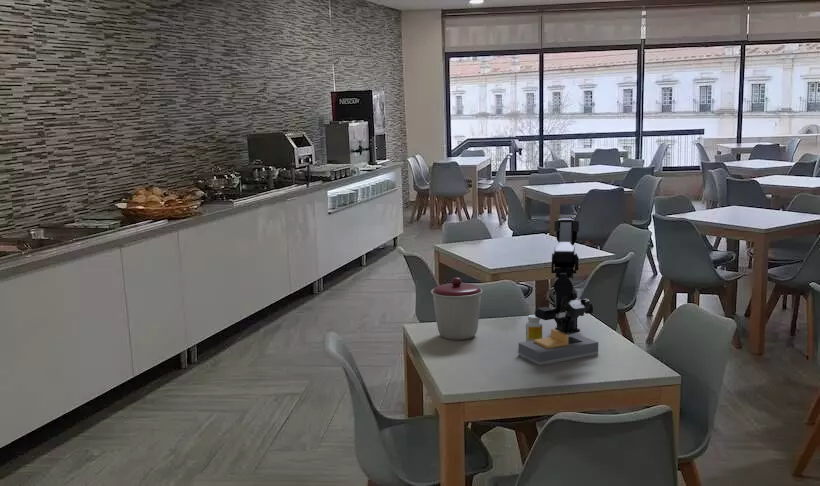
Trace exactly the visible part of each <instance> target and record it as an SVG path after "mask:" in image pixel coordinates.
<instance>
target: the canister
mask: <svg viewBox="0 0 820 486" xmlns="http://www.w3.org/2000/svg"><path fill="white" fill-rule="evenodd" d="M462 281H463V280H462V279H461V277H453V278H452V279H451V282H450V283H444V284H443V283H442V284H440V285H437V286H435V287H434V288H432V289H431V290H430V293H431V295H432V298H433V299H432V300H433V305H434V307H433V308H434V314H435V320H436V327H437V331H438V333H439V335H440V336H441V337H442V338H444V339H447V340H455V341H460V340H469V339H471V338H473V337H475V336H476V334H477V332H478V328H479V327H478V326H479V320H480V312H481V311H480V310H481V301H482V300H481V299H482V297H481V296H482V294H483V292H484V290H483V289H482V288H481V287H479V286H478V285H477V284H473V283H468V282H467V283H466V282H462Z"/></svg>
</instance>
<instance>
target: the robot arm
mask: <svg viewBox="0 0 820 486" xmlns="http://www.w3.org/2000/svg"><path fill="white" fill-rule="evenodd" d="M553 225H554V226H553V232H554V234H556V241H557V242H558V244H557V245H556V246H554V249H553V250H554V251H553V252H552V254H551V270H550V271H551V274H555V275H554V282H553V291H552V295H554V296H555V297H554V303H552V307H553V308H551V307H548V306H543V307H542V306H541V307H537V308H536V309H535V311H534V315H535V317H538V318H540V320H543V321H549V320H550V321H551V320H554V322H555V323H556V326H555V328H554V329H556V330H558V331H561V332H563V333H566V334H570V333H576V332H580V331H581V328H578V318H579V317H580V316H581V317H584V316H585V315H588V314H593V313H594V310H595V309H594V306H593V304H592V303H591V302H590V300H589V299H588V298H583V299H580V297H578V291H577V289H576V287H575V286H574V285H575V282H574V281H575V279H574V277H575V274H577V271H579V264H580V263H579V262H580V261H579V259H580V258H579V256H578V254H577V253H576V251H575V248H576V247H575V246H574V245H575V244H576V242H577V240H578V234H579V235H580V221H578V220H575V219H573V218H559V219H558V220H555V221H554V223H553Z"/></svg>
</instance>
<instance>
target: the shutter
mask: <svg viewBox="0 0 820 486" xmlns="http://www.w3.org/2000/svg"><path fill="white" fill-rule="evenodd" d="M568 334H569V333H568ZM568 334H566V333H563V332H561V331H559V330H556V329H555V328H551V329H550V336H549V337H544V338H543V337H542V339H536V340H534V343H536V344H539V345H541V346H543V347H545V348H553V347H559V346H565V345H568Z"/></svg>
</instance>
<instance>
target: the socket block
mask: <svg viewBox="0 0 820 486" xmlns="http://www.w3.org/2000/svg"><path fill="white" fill-rule="evenodd" d="M596 355H599V342H598V341H596V340H594V339H592V338H589V337H586V336H583V335H581V334H578V333H576V332H573V333H568V345H565V346H559V347H553V348H545V347H543V346H541V345H539V344H536V343H534V340H533V341H527V342H526V341H521V342H518V356H520V357H522V358H524V359H526V360H528V361H530V362H532V363H534V364H536V365H538V366H543V365H548V364H549V365H550V364H554V363H559V362H566V361H570V360H575V359H581V358H585V357H592V356H596Z"/></svg>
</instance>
